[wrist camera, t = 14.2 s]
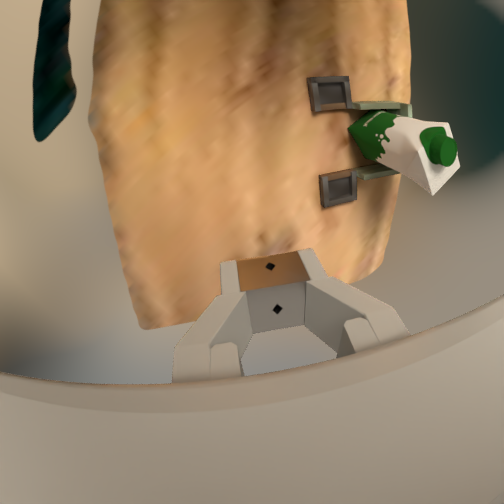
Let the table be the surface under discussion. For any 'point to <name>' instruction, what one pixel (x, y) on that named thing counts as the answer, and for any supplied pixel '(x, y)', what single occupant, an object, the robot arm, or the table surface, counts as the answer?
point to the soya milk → (408, 146)
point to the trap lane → (339, 97)
